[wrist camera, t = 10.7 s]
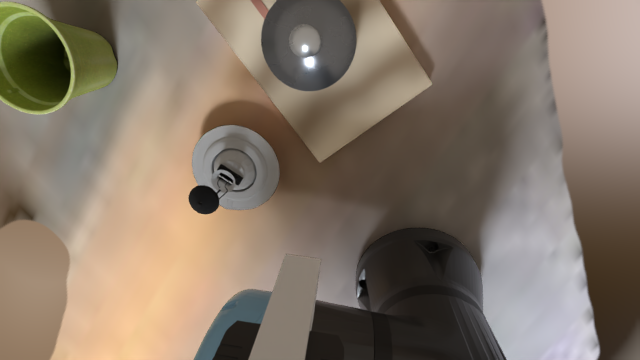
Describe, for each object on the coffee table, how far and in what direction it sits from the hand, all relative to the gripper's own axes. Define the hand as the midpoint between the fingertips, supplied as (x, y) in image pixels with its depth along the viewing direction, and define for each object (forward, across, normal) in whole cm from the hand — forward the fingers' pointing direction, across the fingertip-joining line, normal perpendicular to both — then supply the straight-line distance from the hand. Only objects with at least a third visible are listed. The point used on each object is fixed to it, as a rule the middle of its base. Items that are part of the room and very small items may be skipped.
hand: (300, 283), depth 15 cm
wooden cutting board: (+25, +3, -11) cm, 28 cm away
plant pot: (+26, +28, -6) cm, 38 cm away
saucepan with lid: (+23, +5, -14) cm, 27 cm away
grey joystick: (+26, +10, +3) cm, 28 cm away
